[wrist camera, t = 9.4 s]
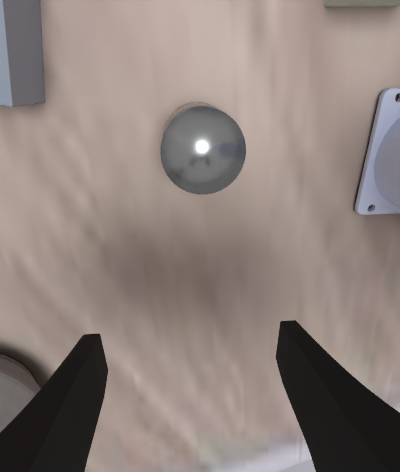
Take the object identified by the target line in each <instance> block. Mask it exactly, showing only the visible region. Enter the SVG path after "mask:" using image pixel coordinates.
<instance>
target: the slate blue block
mask: <svg viewBox="0 0 400 472" xmlns="http://www.w3.org/2000/svg"><path fill="white" fill-rule="evenodd" d="M44 102H45V89H44V68H43V48H42V28H41V8H40V0H0V105H6V106H12V107H14V106H21V105H29V104H37V103H44Z"/></svg>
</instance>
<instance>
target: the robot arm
mask: <svg viewBox="0 0 400 472" xmlns="http://www.w3.org/2000/svg"><path fill="white" fill-rule="evenodd" d="M398 93H399V99H398V100H397V101H395V96H396V95H397V94H398ZM370 205H372V207H371V208H370V209H368V207H369V206H370ZM355 211H356V212H357V213H358V214H360V215H372V214H392V213H400V88H388V89H386V90H384V91H383V92H382V93H381V95H380V97H379V102H378V106H377V111H376V115H375V120H374V124H373V128H372V133H371V137H370V142H369V146H368V151H367V155H366V160H365V164H364V169H363V173H362V177H361V182H360V186H359V191H358V195H357V200H356V204H355ZM276 360H277V364H278V368H279V372H280V375H281V379H282V382H283V385H284V387H285V390H286V393H287V395H288V398H289V400H290V403H291V405H292V408H293V410H294V413H295V415H296V418H297V420H298V423H299V425H300V428H301V430H302V433H303V435H304V438H305V440H306V443H307V445H308V448H309V451H310V454H311V457H312V460H313V463H314V467H315V470H316V472H400V413H399V412H398V411H396V410H395V409H394V408H392V407H391V406H389V405H388V404H387V403H385V402H384V401H383V400H382V399H380V398H379V397H378V396H376V395H375V394H374V393H372V392H371V391H370V390H369V389H367V388H366V387H365V386H364V385H362V384H361V383H360V382H359V381H358V380H357V379H355V378H354V377H353V376H352V375H351V374H350V373H349V372H347V371H346V370H345V369H344V368H343V367H342V366H341V365H340V364H339V363H338V362H337V361H336V360H334V359H333V358H332V357H331V356H330V355H329V354H328V353H327V352H326V351H325V350H324V349H323V348H322V347H321V346H320V345H319V344H318V343H317V342H316V341H315V340H314V339H313V338H312V337H311V336H310V335H309V334H308V333H307V332H306V331H305V330H304V329H303V328H302V327H301V325H300V324H299V323H298V322H297V321H295V320H294V321H281V322H280V329H279V337H278V345H277V352H276ZM107 374H108V367H107V363H106V359H105V354H104V350H103V345H102V341H101V336H100V334H86V335H83V336H82V337H81V339H80V340H79V341H78V343H77V344H76V345H75V347H74V348H73V349H72V351H71V352H70V353H69V355H68V356H67V357H66V359H65V360H64V361H63V362H62V364H61V365H60V366H59V367H58V369H57V370H56V371H55V372H54V374H53V375H52V376H51V377H50V379H49V380H48V381H47V382H46V384H45V385H44V386H43V387H42V388H41V389H40V390H39V392H38V393H37V394H36V395H35V396H34V397H33V398H32V400H31V401H30V402H29V403H28V404H27V405H26V406H25V407H24V409H23V410H22V411H21V412H20V413H19V414H18V415H17V416H16V417H15V418H14V419H13V420H12V421H11V422H10V423H9V424H8V425H7V426H6V427H5V428H4V429H3V430H2V431H1V432H0V472H84V471H85V467H86V462H87V458H88V455H89V451H90V447H91V444H92V440H93V436H94V433H95V429H96V425H97V422H98V418H99V414H100V410H101V407H102V403H103V399H104V394H105V388H106V381H107Z"/></svg>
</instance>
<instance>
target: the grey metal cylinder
mask: <svg viewBox="0 0 400 472" xmlns="http://www.w3.org/2000/svg"><path fill="white" fill-rule="evenodd" d="M245 154H246V146H245V140H244V136H243V134H242V131H241V129H240V128H239V126H238V125H237V123H236V122H235V121H234V120H233V119H232V118H231V117H230V116H228V115H227V114H226V113H224V112H222V111H220V110H218V109H217V108H215V107H213V106H211V105H209V104H206V103H202V102H191V103H187V104H185V105H183V106H181V107H179V108H178V109H177V110H175V111H174V112H173V113H172V115H171V116H170V118H169V119H168V121H167V124H166V127H165V131H164V135H163V139H162V143H161V160H162V164H163V167H164V170H165V172H166V173H167V175H168V177H169V178H170V179H171V180H172V182H173V183H174V184H176V185H177V186H178V187H180V188H181V189H183V190H185V191H187V192H190V193H194V194H211V193H215V192H218V191H220V190H222V189H224V188H225V187H227V186H228V185H230V184H231V183H232V182H233V181H234V180H235V179H236V177H237V176H238V174H239V173H240V171H241V169H242V167H243V164H244V160H245Z"/></svg>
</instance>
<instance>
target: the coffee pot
mask: <svg viewBox="0 0 400 472" xmlns="http://www.w3.org/2000/svg"><path fill="white" fill-rule="evenodd" d="M39 390H40V387H39V385H38V384H37V383H36V381H35V380H34V378H33V376H32V375H31V373H30V372H29V371H28V369H26V368H25V367H24V366H23V365H22V364H20V363H19V362H17V361H15V360H13V359H11V358H9V357H7V356H4V355H1V354H0V432H1V431H2V430H3V429H4V428H5V427H6V426H7V425H8V424H9V423H10V422H11V421H12V420H13V419H14V418H15V417H16V416H17V415H18V414H19V413H20V412H21V411H22V410H23V409H24V407H25V406H26V405H27V404H28V403H29V402H30V401H31V400H32V398H33V397H34V396H35V395H36V394H37V393H38V392H39Z"/></svg>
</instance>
